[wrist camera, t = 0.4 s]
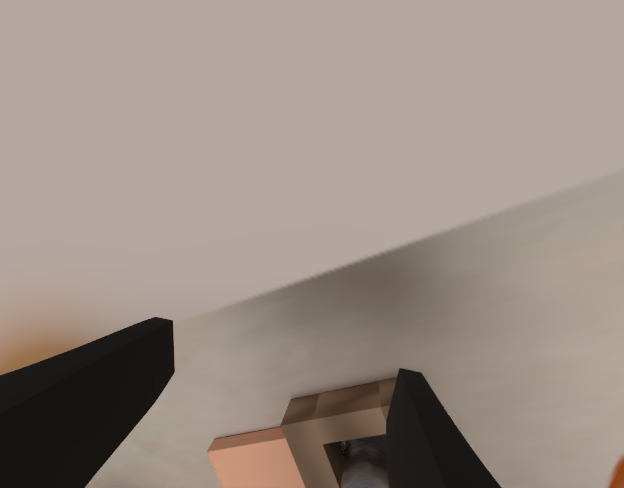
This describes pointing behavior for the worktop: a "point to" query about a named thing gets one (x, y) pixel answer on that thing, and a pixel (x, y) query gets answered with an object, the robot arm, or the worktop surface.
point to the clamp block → (333, 428)
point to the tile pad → (255, 461)
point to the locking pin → (365, 463)
